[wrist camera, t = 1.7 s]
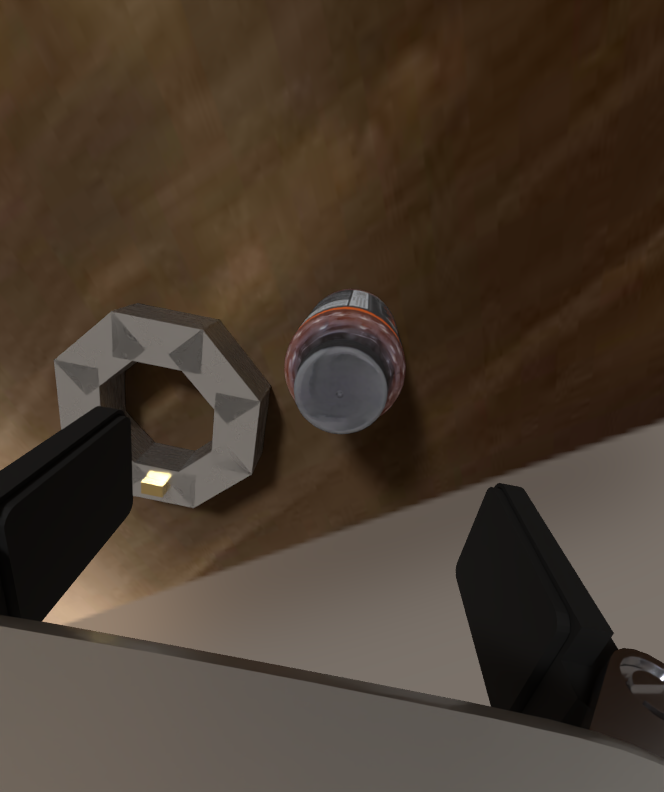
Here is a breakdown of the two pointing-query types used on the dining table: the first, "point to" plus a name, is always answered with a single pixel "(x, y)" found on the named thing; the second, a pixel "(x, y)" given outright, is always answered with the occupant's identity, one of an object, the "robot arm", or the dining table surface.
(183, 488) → the grey octagonal ring
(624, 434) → the dining table surface
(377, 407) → the supplement bottle
